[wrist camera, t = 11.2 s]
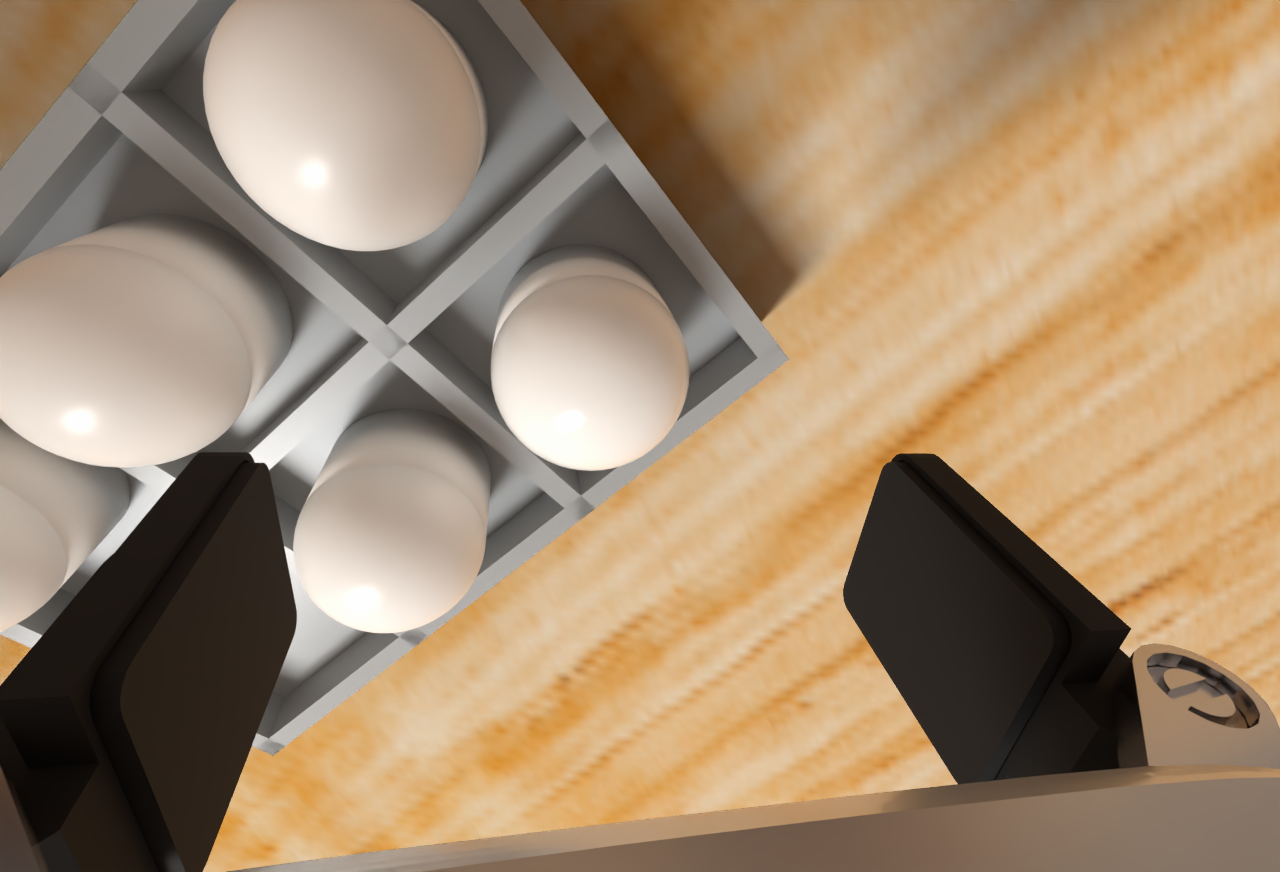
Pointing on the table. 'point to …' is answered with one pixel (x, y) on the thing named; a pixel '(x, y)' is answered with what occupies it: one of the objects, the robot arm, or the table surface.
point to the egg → (587, 359)
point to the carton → (317, 306)
